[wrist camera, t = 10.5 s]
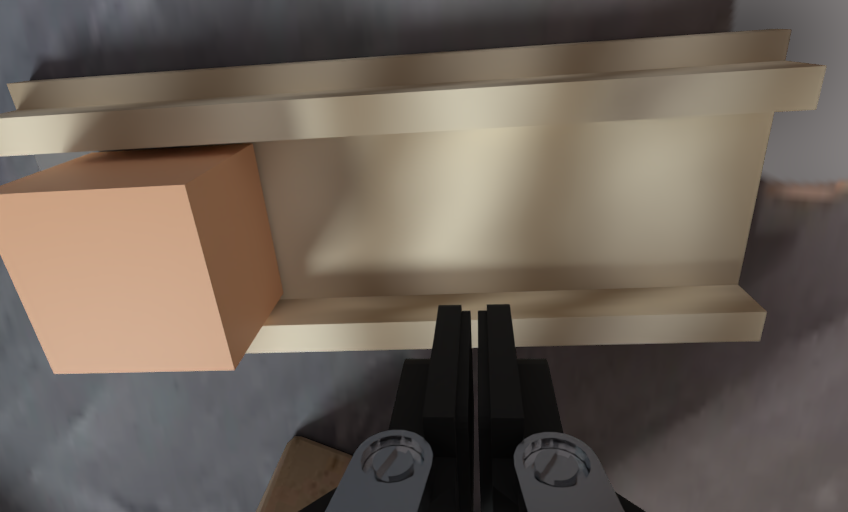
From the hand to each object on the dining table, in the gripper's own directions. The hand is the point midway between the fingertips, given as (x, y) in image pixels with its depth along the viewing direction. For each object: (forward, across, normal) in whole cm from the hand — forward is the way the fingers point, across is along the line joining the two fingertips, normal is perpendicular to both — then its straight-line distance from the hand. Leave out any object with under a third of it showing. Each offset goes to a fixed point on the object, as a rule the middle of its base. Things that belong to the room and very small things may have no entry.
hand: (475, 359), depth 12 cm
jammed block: (+7, +11, -1) cm, 13 cm away
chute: (+9, +3, -1) cm, 9 cm away
